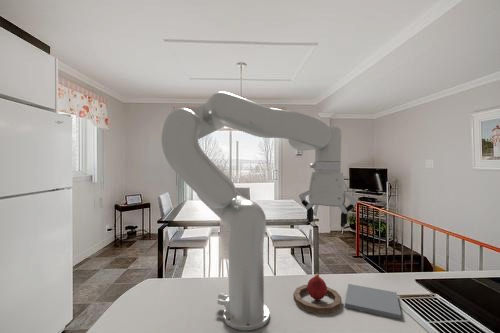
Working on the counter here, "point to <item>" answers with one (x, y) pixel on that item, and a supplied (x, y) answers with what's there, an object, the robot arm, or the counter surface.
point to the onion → (317, 287)
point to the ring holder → (314, 307)
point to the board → (373, 301)
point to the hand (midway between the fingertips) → (326, 224)
